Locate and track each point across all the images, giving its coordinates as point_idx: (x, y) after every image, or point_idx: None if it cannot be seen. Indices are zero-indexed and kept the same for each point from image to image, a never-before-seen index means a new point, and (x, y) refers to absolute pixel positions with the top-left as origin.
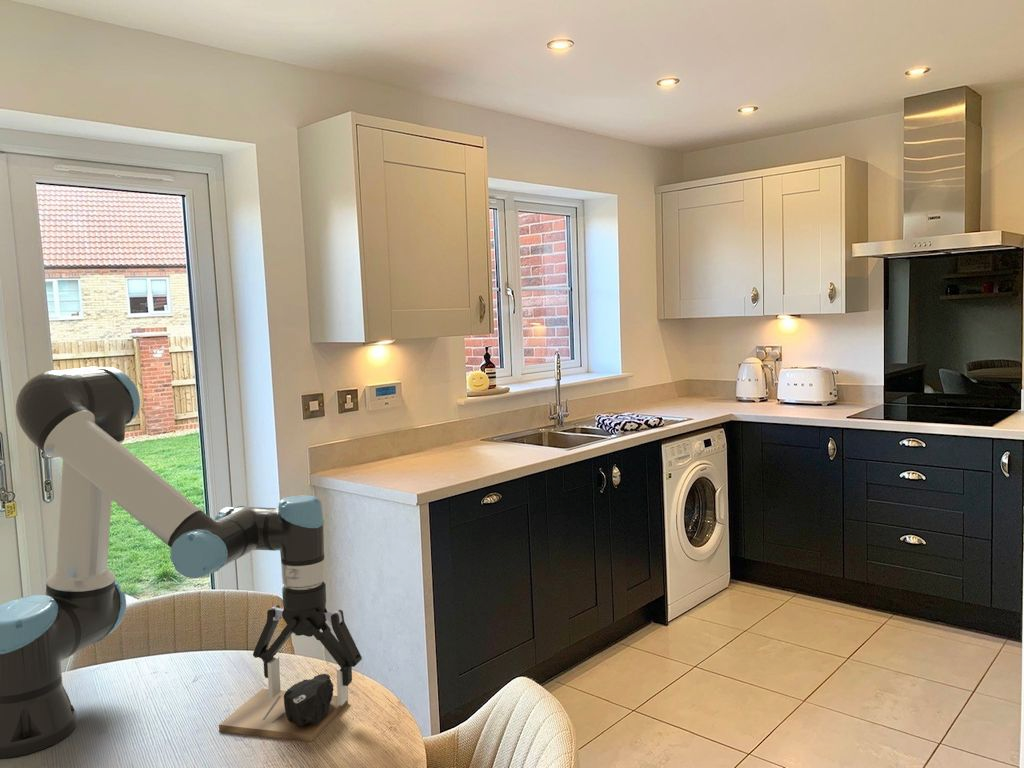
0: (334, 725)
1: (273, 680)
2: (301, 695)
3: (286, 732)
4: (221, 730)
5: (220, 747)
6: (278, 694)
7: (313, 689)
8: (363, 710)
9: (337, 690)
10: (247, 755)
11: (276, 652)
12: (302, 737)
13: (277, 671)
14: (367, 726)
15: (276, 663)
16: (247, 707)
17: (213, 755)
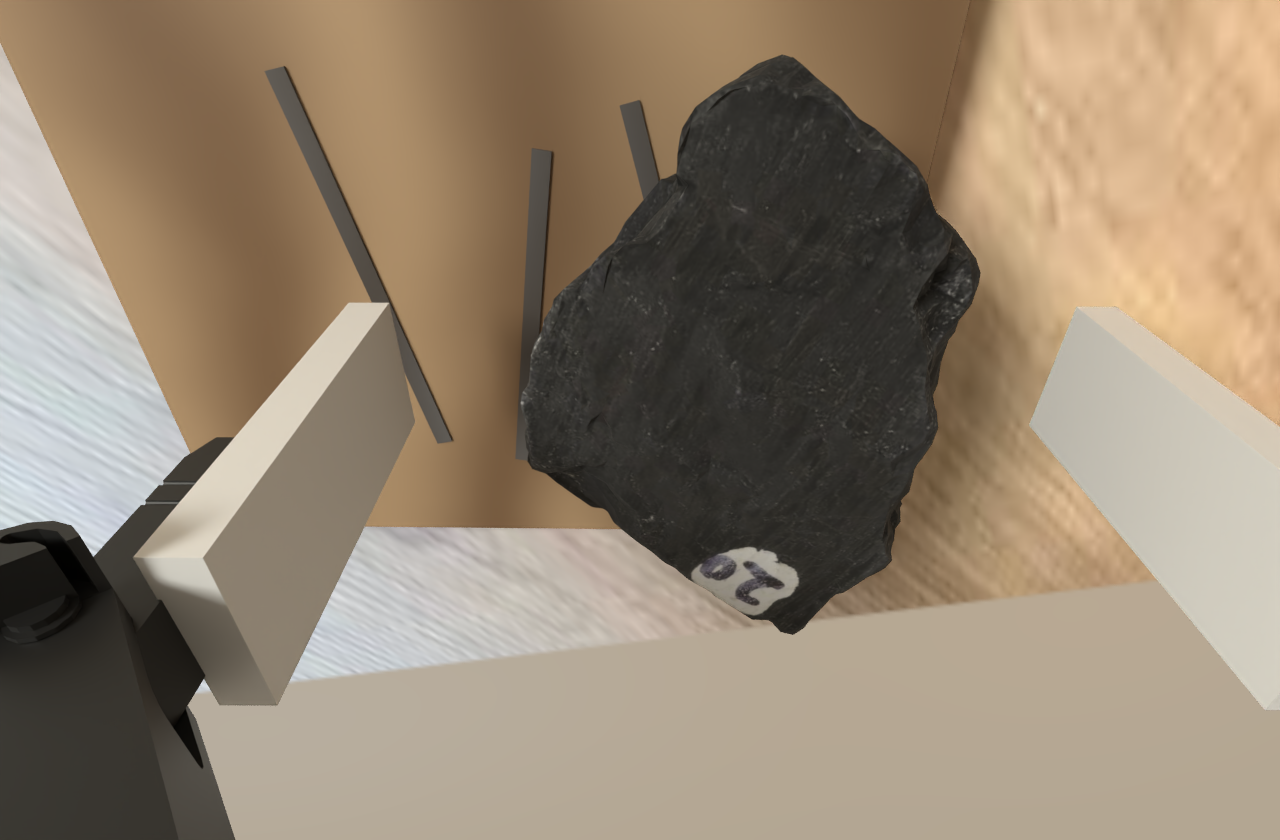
0: None
1: (359, 501)
2: (743, 552)
3: None
4: None
5: (387, 600)
6: (235, 39)
7: (844, 521)
8: (1130, 62)
9: (1104, 514)
10: (564, 627)
11: (146, 677)
12: None
13: (312, 474)
14: (1171, 301)
15: (263, 566)
16: (188, 315)
17: (411, 646)
